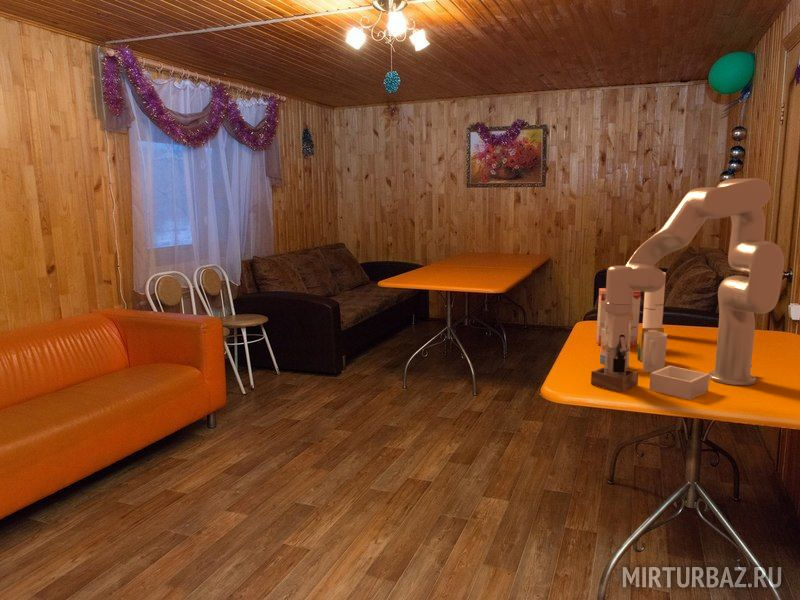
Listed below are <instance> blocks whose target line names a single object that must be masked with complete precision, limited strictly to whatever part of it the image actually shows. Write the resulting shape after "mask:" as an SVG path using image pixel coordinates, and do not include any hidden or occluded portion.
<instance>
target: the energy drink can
mask: <svg viewBox="0 0 800 600" xmlns="http://www.w3.org/2000/svg"><path fill="white" fill-rule="evenodd" d="M617 348H620V346H617ZM619 351H620V350H617V353H618V352H619ZM625 356H626V358H625V371H624V372H613V358H615V352H614V349H611V348H610V347H608V340H606V350H605V364H604V367H605V370H604V374H608V375H612V376H616V377H623V376H626V369H627V368H626V364H627V351H626V355H625Z"/></svg>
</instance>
